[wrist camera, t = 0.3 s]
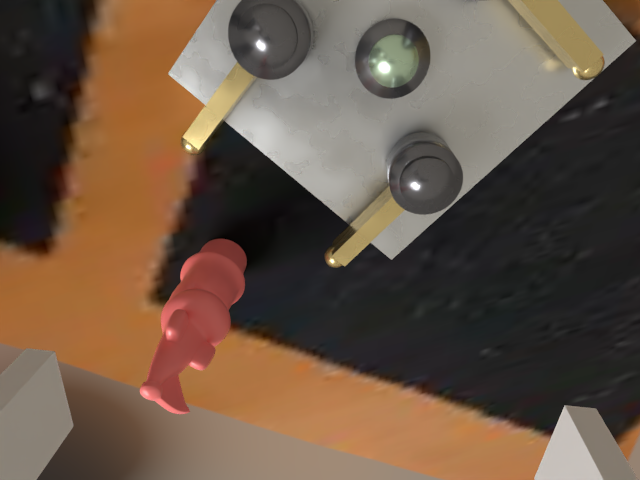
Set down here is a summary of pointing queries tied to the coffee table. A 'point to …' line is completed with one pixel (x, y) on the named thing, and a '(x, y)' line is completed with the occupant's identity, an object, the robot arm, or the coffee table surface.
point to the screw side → (562, 36)
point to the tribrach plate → (398, 91)
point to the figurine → (195, 319)
